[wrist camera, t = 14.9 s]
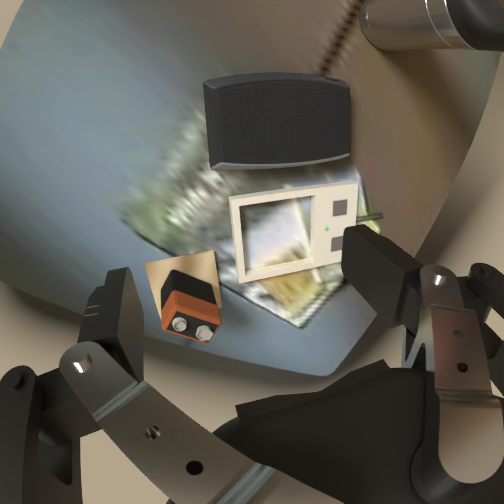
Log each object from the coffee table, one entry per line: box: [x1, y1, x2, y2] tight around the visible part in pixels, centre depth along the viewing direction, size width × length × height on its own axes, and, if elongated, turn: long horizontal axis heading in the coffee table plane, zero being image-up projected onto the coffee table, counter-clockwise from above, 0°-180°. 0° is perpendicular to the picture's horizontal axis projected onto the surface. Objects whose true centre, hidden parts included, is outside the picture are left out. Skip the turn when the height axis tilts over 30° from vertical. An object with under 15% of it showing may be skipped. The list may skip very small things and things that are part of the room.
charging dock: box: [229, 181, 383, 283], centre depth 46 cm, size 26×13×2 cm, turn 94°
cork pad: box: [145, 250, 222, 318], centre depth 46 cm, size 10×10×1 cm
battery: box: [161, 269, 222, 343], centre depth 41 cm, size 4×7×10 cm, turn 57°
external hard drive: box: [203, 73, 350, 170], centre depth 37 cm, size 13×19×4 cm
